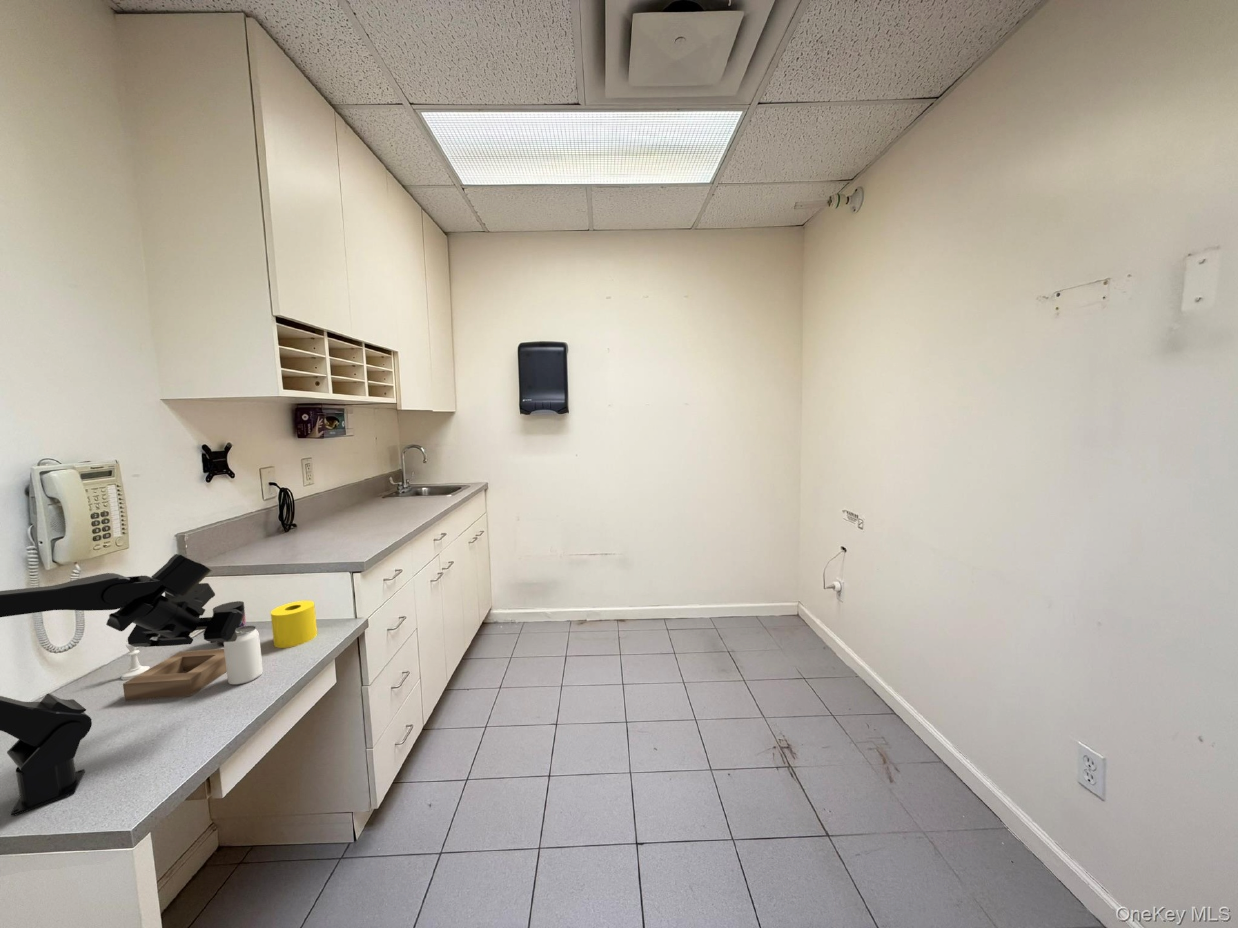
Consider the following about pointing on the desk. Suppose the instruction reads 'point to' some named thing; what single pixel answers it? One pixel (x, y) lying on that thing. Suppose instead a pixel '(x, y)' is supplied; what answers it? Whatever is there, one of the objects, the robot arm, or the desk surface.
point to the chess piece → (133, 664)
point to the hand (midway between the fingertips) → (213, 640)
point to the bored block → (177, 675)
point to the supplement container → (233, 605)
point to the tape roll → (293, 624)
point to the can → (243, 656)
